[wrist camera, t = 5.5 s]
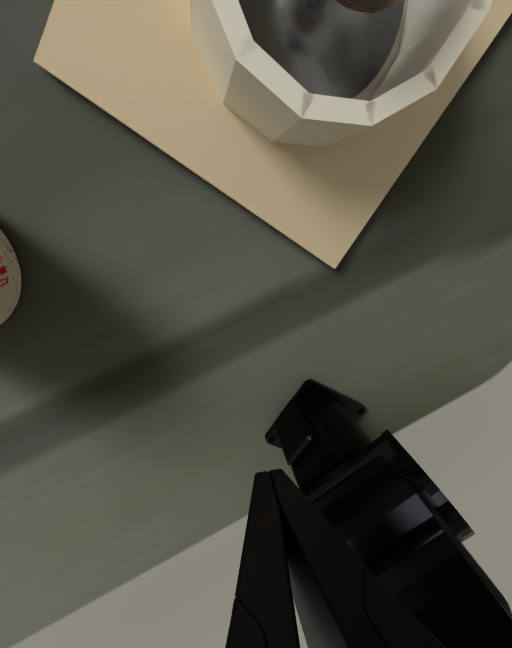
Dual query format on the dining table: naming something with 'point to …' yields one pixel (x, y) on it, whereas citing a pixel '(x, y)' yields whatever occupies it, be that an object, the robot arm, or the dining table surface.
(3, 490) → the dining table surface
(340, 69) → the plunger
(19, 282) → the teacup with lid
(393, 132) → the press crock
